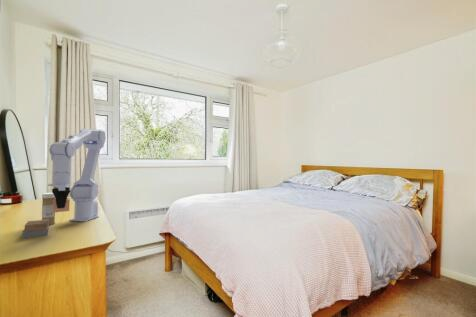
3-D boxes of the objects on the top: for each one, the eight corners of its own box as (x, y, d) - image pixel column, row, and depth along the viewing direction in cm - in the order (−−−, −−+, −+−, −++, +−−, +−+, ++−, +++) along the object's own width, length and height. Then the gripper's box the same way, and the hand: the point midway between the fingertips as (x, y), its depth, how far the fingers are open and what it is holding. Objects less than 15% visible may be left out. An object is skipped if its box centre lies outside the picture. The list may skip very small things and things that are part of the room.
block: (53, 210, 90) (53, 198, 90) (68, 208, 93) (68, 197, 93) (52, 212, 86) (53, 200, 86) (69, 210, 89) (69, 199, 89)
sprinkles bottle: (55, 222, 101) (56, 192, 101) (53, 224, 97) (54, 193, 97) (42, 223, 99) (43, 192, 99) (39, 226, 95) (40, 194, 95)
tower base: (24, 234, 86) (25, 227, 86) (48, 231, 90) (48, 225, 90) (22, 239, 80) (22, 232, 80) (47, 236, 85) (48, 229, 85)
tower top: (28, 227, 86) (28, 221, 86) (48, 225, 90) (48, 219, 90) (24, 232, 81) (24, 225, 81) (46, 229, 85) (46, 222, 85)
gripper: (49, 171, 93) (48, 204, 93) (48, 173, 82) (47, 211, 82) (70, 171, 97) (69, 203, 97) (72, 173, 86) (71, 209, 86)
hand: (60, 206), depth 90 cm, fingers closed on block, 5 cm apart
